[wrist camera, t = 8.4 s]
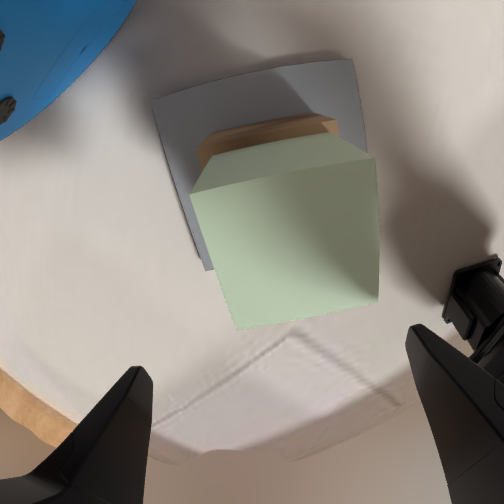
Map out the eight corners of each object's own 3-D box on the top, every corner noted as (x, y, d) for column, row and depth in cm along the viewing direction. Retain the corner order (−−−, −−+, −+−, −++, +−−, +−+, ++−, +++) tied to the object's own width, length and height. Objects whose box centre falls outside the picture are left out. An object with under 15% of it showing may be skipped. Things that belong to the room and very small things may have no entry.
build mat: (347, 60, 15) (352, 59, 14) (368, 231, 20) (373, 237, 20) (155, 100, 16) (149, 101, 15) (207, 263, 22) (205, 271, 21)
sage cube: (329, 132, 11) (374, 157, 7) (342, 235, 14) (378, 302, 10) (211, 155, 12) (189, 194, 8) (240, 256, 14) (236, 330, 10)
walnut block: (313, 112, 15) (336, 119, 11) (328, 205, 18) (351, 243, 14) (211, 133, 16) (196, 148, 12) (236, 224, 19) (231, 267, 15)
